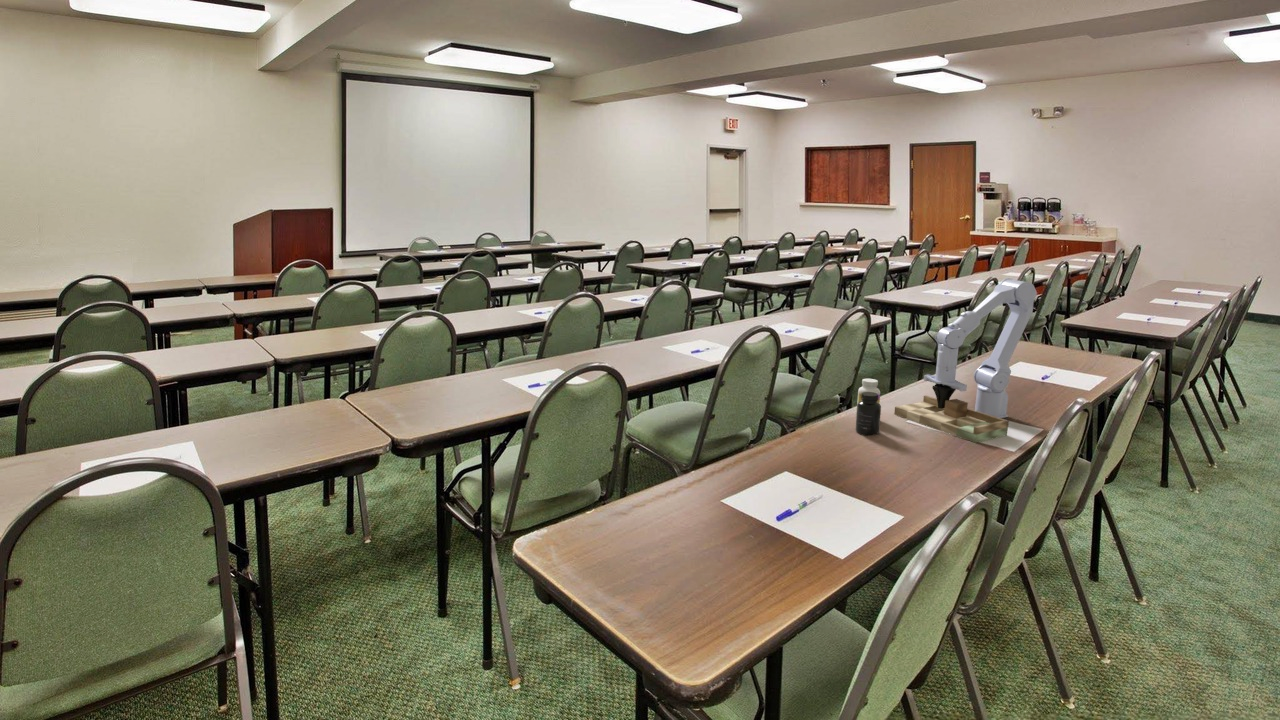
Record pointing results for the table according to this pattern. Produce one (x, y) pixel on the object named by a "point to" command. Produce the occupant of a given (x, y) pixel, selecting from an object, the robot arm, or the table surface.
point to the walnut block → (955, 408)
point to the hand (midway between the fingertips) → (942, 407)
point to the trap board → (954, 421)
